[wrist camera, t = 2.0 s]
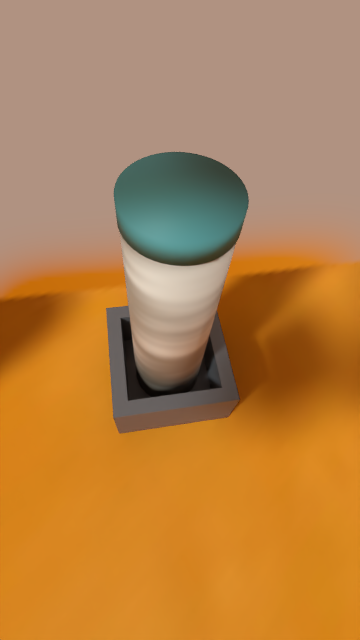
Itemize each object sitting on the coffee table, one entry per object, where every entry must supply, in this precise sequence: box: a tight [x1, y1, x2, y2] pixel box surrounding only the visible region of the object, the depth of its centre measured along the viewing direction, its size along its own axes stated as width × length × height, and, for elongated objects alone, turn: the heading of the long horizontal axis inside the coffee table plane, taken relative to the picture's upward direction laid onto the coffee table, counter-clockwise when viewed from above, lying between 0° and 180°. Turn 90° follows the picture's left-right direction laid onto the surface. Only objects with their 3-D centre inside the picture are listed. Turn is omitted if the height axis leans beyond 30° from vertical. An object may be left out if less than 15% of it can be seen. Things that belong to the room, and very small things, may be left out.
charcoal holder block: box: [106, 306, 240, 433], centre depth 21 cm, size 7×7×4 cm
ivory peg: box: [114, 152, 249, 397], centre depth 16 cm, size 4×4×14 cm
